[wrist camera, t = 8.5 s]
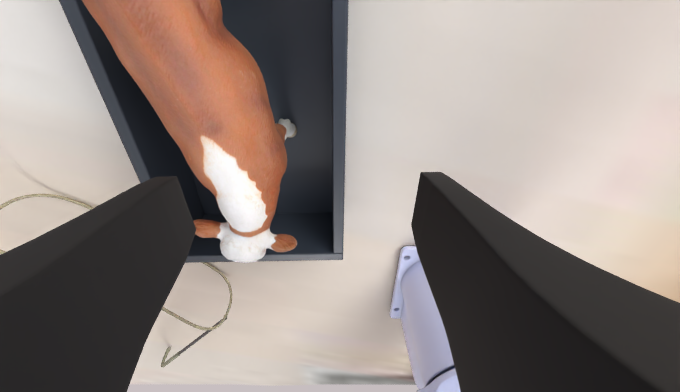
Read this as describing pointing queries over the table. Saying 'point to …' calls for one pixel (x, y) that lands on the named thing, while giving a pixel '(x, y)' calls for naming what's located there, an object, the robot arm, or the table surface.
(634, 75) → the table surface
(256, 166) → the bull figurine
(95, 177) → the table surface
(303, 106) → the tote
